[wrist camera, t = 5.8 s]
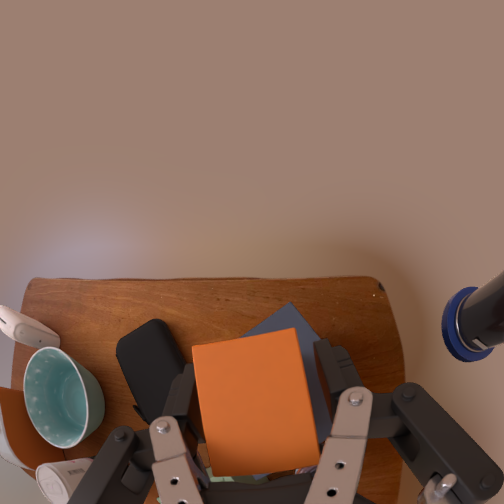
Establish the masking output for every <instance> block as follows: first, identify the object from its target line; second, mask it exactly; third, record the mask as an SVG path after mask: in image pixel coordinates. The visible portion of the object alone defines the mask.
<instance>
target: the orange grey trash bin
mask: <svg viewBox="0 0 504 504" xmlns="http://www.w3.org/2000/svg"><path fill="white" fill-rule="evenodd" d="M0 456H1V457H2V458H3V459H5V460H6V461H7V462H9V463H11V464H13V465H16V466H19V467H23V468H26V469H30V470H34V471H36V469H37V467H38V466H40V465H42V464H45V463H54V462H62V461H66V460H65V457H64V454H63V450H62V448H59V447H56V446H54V445H52V444H50V443H49V442H47V441H46V440H45V439H44V438H43V437H42V436H41V435H40V434H39V432H38V431H37V430H36V428H35V427H34V425H33V423H32V421H31V419H30V417H29V414H28V411H27V408H26V404H25V398H24V391H20V390H14V389H9V388H4V387H0Z"/></svg>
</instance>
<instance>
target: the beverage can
mask: <svg viewBox="0 0 504 504" xmlns="http://www.w3.org/2000/svg"><path fill="white" fill-rule="evenodd" d="M95 457H96V456H92V457H87V458H81V459H75V460H69V461H62V462H54V463H45V464H42V465H40V466H38V467H37V469H36V479H37V483H38V485H39V488H40V490H41V492H42V493H43V495H44V496H45V497H46V499H47V500H48V501H49V502H50V503H51V504H67V502H68V500H69V499H70V497H71V496H72V494H73V492H74V491H75V489H76V487H77V486H78V484H79V482H80V481H81V479H82V478H83V476H84V474H85V473H86V471H87V470H88V468H89V466H90V465H91V463H92V462H93V460H94V458H95ZM128 467H129V466H128V465H127V467H126V468H125V470H124V472H123V474H122V476H121V480H122V478H123V476H124V474H125V472H126V471H127V469H128Z"/></svg>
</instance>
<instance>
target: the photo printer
mask: <svg viewBox="0 0 504 504" xmlns="http://www.w3.org/2000/svg"><path fill="white" fill-rule="evenodd" d="M0 329H1V330H2V331H3V332H4V333H5V334H6V335H7V336H9V337H10V338H11V339H13V340H15V341H17V342H20V343H23V344H26V345H29V346H32V347H35V348H38V349H42V348H44V347H55V348H58V349H59V346H60V338H59V335H58V334H56V333H55V332H54V331H52V330H51V329H49V328H48V327H46V326H45V325H43V324H42V323H40V322H38V321H37V320H34V319H32V318H30V317H28V316H25V315H23V314H21V313H19V312H17V311H14V310H12V309H10V308H8V307H6V306H2V305H1V306H0Z"/></svg>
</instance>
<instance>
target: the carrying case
mask: <svg viewBox="0 0 504 504" xmlns="http://www.w3.org/2000/svg"><path fill="white" fill-rule="evenodd" d="M116 357H117V359H118V362H119V364H120V367H121V369H122V371H123V374H124V376H125V379H126V381H127V383H128V386H129V388H130V390H131V392H132V394H133V397H134V399H135V401H136V403H137V405H138V407H139V408H138V407H137V406H136V405H133V408H134V410H135V411H136V412H137V413H138V414H139V416H140V417H141V418H142V419H143V421H146V422H147V424H148V425H151V423H152V422H153V421H154V420H155V419H157V418H159V417H161V416H162V414H163V410H164V407H165V404H166V400H167V397H168V396H169V395H168V394H169V391H170V388H171V384H172V381H173V380H174V379H175V378H176V376H177V375H178V374H183V372H184V368H185V365H186V364H187V363H186V361H185V359H184V357H183V355H182V354H181V352H180V350H179V348H178V346H177V344H176V342H175V340H174V338H173V336H172V334H171V332H170V330H169V328H168V326H167V324H166V323H165V322H164V321H162V320H160V319H152V320H150V321H148V322H147V323H145V324H143V325H142V326H140V327H139V328H137V329H135V330H134V331H132V332H131V333H129V334H127V335H126V336H124V337H123V338H121V339H120V340H119V342H118V343H117V347H116Z"/></svg>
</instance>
